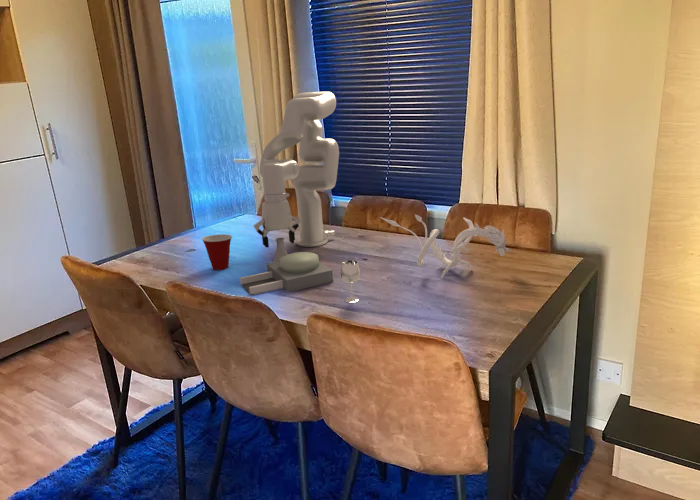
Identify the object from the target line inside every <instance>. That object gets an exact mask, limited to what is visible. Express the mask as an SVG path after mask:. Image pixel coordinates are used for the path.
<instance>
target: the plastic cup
mask: <svg viewBox="0 0 700 500" xmlns="http://www.w3.org/2000/svg"><path fill="white" fill-rule="evenodd" d="M232 238H233V236H232V235H231V234H224V233H223V234H222V233H221V234H210V235H207V236H203V237H202V238H201V240H202V241H203V244H204V247H205V249H206V252H207V257H208V259H209V262H210V264H211V268H212V269H213V270H214V271H223V270H226V269H228V268H229V265H230V251H231V241H232Z"/></svg>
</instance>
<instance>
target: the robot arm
mask: <svg viewBox="0 0 700 500" xmlns="http://www.w3.org/2000/svg"><path fill="white" fill-rule="evenodd" d="M336 107H337V98H336V96H335V94H334V93H332V92H331V91H312V92H311V91H310V92H309V91H308V92H306V91H305V92H300V93H298V94H297V93H296V94H295V96H294V97H293V98H292V99H290V100H289V101H288V102H287V104H286V108H285V111H284V115H283V120H282V123H281V127H280V131H279V132H278V133H277V135H275V136H274V137H273V138H272V139H271V140H270V141H268V143H267V144H266V145H265V147H264V149H263V152H262V155H261V159H260V163H259V173H260V176H261V178H262V185H263V198H264V201H262V204H261V220H259V221H257V222H256V223H255V224H254V225H253V228H254V229H255V231H256V232H257V233H258V234H259V235H260V236H261V239H262V245H263V246H264V247H265V248H267V249H268V248H270V246H269V236H268V234H269V232H272V231H279V230H285V229H286V230H287V229H289V231H288V241H289V243H292V244H295V240H296V238H295V237H296V236H295V235H296V234H295V232H296V230H297V229H299V236H300V238H298V239H297V241H296V244H297V245H298V246H300V247H306V248H309V247H310V248H311V247H313V248H314V247H319V246H323V245H325V244H327V243H328V241H329V239H328V237H329V236H335V235H336V233H335V230H334V229H333V230H328V229H326V230H325V229H324V222H323V212H322V200H321V197H320V195H319V193H318V192H317V191H318V190H319V191H321V190H322V191H326V190H328V191H329V190H332V189H333V188H335V187H336V183H337V177H338V171H339V170H338V169H339V158H340V148H339V144H338V143H337V141H336V140H335V139H333V138H327V137H326V138H323V131H324V129H323V125H322V123H321V122H320V121H321V120H324V119H325V118H327V117H329V116H330V115H332V114H333V113H334V111H335V109H336ZM297 144H299V150H298V156H299V159H300V161H302V162H303V163H308V164H305V165H299V164H298V162H297V161H296V160H293V159H291V158H289V159H288V158H285V159H284V158H276V157H277V156H278V155H279V154H280V153H282V152H283V151H285V150H287V149H288V148H291V147H293V146H295V145H297ZM311 164H312V165H311ZM316 164H318V165H316ZM319 164H320V165H319ZM322 164H323V165H322ZM286 181H292V183H293V187H294V190H295V196H296V197H295V198H296V202H297V215H298V216H297V217H296V216H294V215H292V211H291V208H290V204H289V201H288V200H287V198H288V197H290V193H289V192H287V191H286V183H285V182H286ZM293 221H294V224H293ZM261 226H262V228H263V229H262V230H261V229H260V227H261Z"/></svg>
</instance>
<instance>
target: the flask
mask: <svg viewBox="0 0 700 500" xmlns="http://www.w3.org/2000/svg"><path fill="white" fill-rule="evenodd" d="M274 240H275V242H276V250H275V254H274V258H273V262H277V261H280V258H281V257H283V256H285V255H288V254H289V253H288V252H287V250H286V246H285V242H284V240H285V237H277V238H275V239H274Z"/></svg>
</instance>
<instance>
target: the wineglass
mask: <svg viewBox="0 0 700 500" xmlns="http://www.w3.org/2000/svg"><path fill="white" fill-rule="evenodd" d="M360 272H361V270H360V266H359V263H358V261H357V260H355V259H354V260H352V259H349V260H344V261H342V262H341V266H340V278H341V280H342V281H343V282H344V283H347V284H349V289H350V290H349V291H350V297H346V298H345V299H344V302H345V303H348V304H353V303H357V302H360V298H359V297H357V296H354V295H353V287H354V286H353V284H354V283H357V282H358V281H359V279H360V276H361V273H360Z"/></svg>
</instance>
